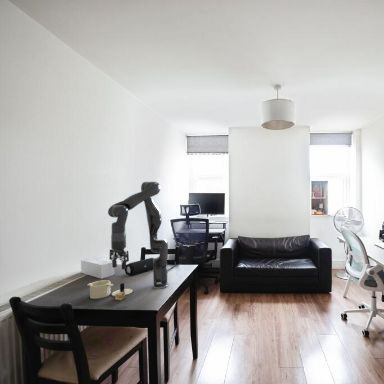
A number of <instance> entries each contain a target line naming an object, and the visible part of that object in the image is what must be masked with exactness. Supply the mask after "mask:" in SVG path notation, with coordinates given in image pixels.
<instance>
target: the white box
mask: <svg viewBox="0 0 384 384" xmlns="http://www.w3.org/2000/svg"><path fill="white" fill-rule="evenodd" d="M80 273H81V274H84V275H88V276H90V277H94V278H98V279H101V280H103V279H105V278H108V277H109V278H110V277H112V276H115V268H113V267H112V261H111V260H107V259H104V258H103V259H102V258H99V257H89V258H84V259H80Z"/></svg>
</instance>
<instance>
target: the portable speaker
mask: <svg viewBox="0 0 384 384" xmlns="http://www.w3.org/2000/svg"><path fill="white" fill-rule="evenodd" d="M154 258H155V257H147V258H144V259H141V260H136V261H132V262H129V263H126V269H124V273H125V274H126V276H136V275H138V274H142V273H145V272H149V271H152V270H153V259H154Z"/></svg>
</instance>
